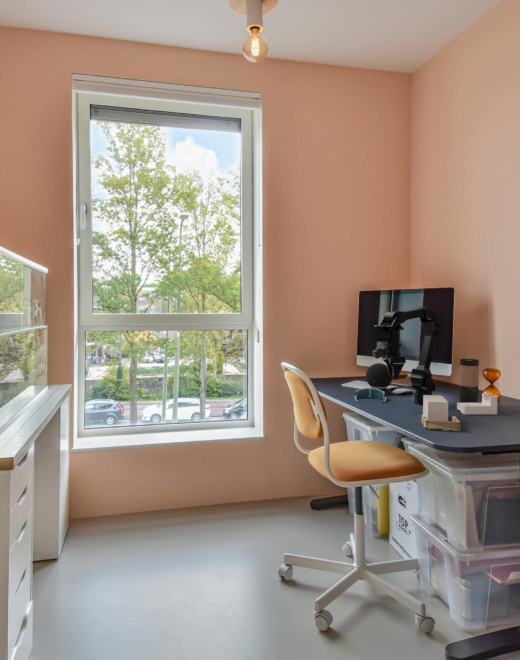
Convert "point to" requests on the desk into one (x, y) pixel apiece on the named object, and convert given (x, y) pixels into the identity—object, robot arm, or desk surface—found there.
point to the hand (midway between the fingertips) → (393, 377)
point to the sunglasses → (374, 392)
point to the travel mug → (469, 380)
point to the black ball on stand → (379, 377)
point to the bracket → (480, 406)
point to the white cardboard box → (435, 407)
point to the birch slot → (442, 424)
